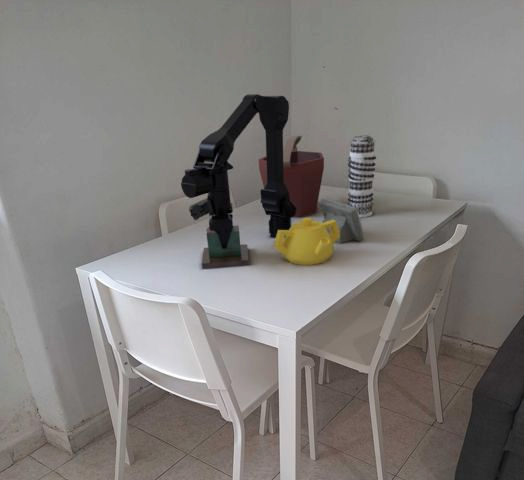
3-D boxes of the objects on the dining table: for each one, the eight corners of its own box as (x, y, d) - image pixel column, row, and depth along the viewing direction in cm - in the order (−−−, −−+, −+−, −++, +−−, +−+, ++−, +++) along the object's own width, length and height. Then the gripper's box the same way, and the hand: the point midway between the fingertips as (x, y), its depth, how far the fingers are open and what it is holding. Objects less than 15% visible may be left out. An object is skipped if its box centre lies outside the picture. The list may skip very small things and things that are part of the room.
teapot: (293, 278, 128) (292, 236, 122) (265, 256, 142) (262, 218, 136) (359, 262, 134) (361, 222, 128) (325, 243, 148) (326, 206, 143)
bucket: (281, 200, 193) (278, 131, 180) (335, 203, 184) (336, 131, 171) (253, 218, 175) (247, 142, 162) (311, 223, 166) (310, 143, 153)
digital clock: (366, 242, 147) (368, 206, 142) (339, 247, 145) (340, 211, 139) (340, 227, 160) (341, 194, 155) (315, 232, 158) (315, 198, 152)
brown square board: (247, 249, 148) (247, 244, 148) (249, 265, 137) (248, 259, 137) (204, 252, 148) (203, 247, 147) (202, 268, 137) (201, 263, 136)
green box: (240, 248, 144) (238, 224, 141) (241, 255, 140) (238, 230, 136) (210, 251, 144) (207, 227, 141) (209, 258, 140) (206, 233, 136)
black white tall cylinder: (373, 209, 175) (377, 133, 162) (373, 217, 167) (377, 138, 154) (347, 210, 176) (348, 134, 163) (346, 217, 169) (348, 139, 156)
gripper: (190, 183, 140) (198, 236, 149) (186, 200, 125) (194, 259, 133) (229, 180, 141) (234, 233, 149) (230, 197, 125) (235, 255, 133)
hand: (224, 245), depth 141 cm, fingers closed on green box, 5 cm apart
